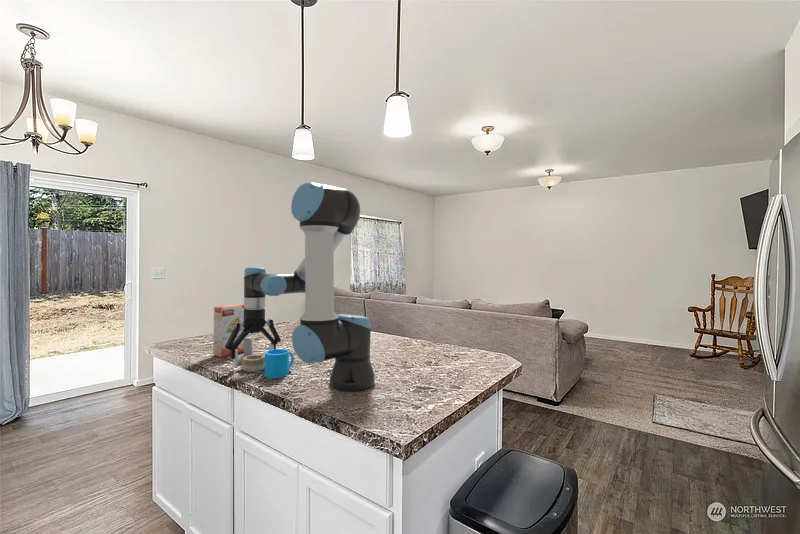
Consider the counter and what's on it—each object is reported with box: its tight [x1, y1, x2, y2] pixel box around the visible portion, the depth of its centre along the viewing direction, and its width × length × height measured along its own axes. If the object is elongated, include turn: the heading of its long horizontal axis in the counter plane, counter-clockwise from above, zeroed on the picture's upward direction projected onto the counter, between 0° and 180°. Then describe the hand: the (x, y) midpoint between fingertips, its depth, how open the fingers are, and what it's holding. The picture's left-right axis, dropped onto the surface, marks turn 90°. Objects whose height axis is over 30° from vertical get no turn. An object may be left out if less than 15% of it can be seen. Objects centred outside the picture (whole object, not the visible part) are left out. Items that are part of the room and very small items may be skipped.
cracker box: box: [212, 303, 250, 358], centre depth 160 cm, size 14×6×21 cm, turn 153°
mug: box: [264, 348, 295, 379], centre depth 135 cm, size 12×8×8 cm
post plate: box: [227, 336, 263, 366], centre depth 153 cm, size 12×12×9 cm
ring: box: [241, 354, 265, 372], centre depth 140 cm, size 8×8×4 cm
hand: (253, 363), depth 141 cm, fingers open, 13 cm apart
